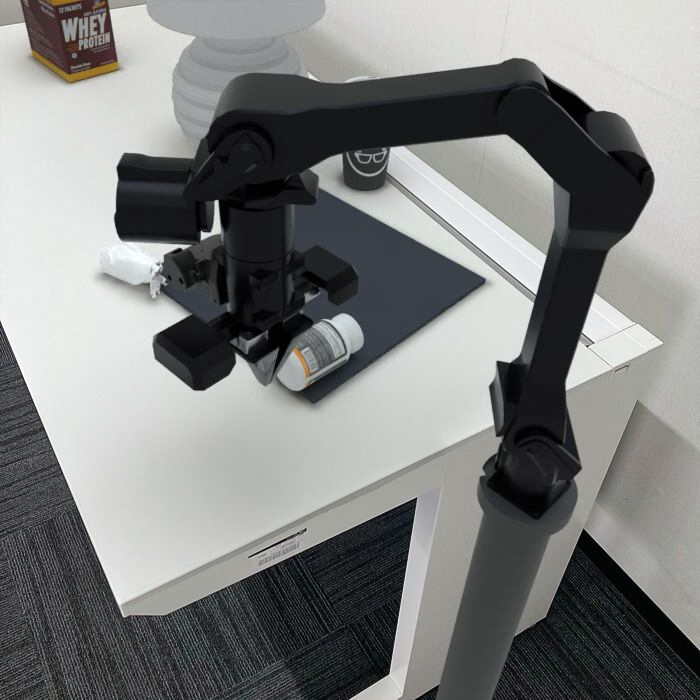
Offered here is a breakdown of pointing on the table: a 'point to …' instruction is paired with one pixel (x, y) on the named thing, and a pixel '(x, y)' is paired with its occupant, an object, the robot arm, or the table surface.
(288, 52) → the table lamp
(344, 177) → the coffee cup
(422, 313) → the mat
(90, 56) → the supplement box
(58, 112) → the table surface
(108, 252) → the white pouch
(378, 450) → the table surface
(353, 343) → the pill bottle
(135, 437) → the table surface
